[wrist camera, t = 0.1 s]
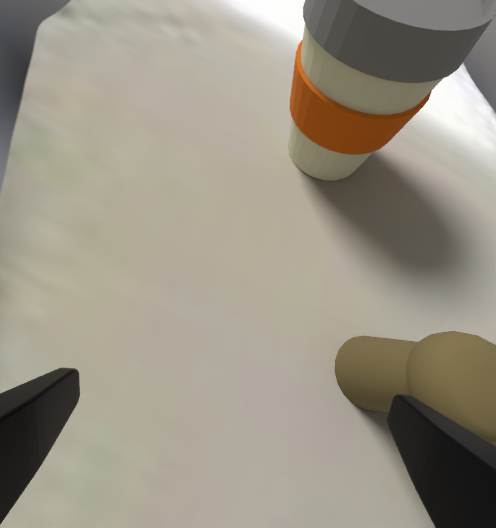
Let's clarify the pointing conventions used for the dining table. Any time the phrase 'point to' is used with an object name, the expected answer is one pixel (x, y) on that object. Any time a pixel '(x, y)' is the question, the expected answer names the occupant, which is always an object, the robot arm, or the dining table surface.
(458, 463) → the robot arm
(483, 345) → the cork
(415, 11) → the reusable coffee cup
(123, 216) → the dining table surface
